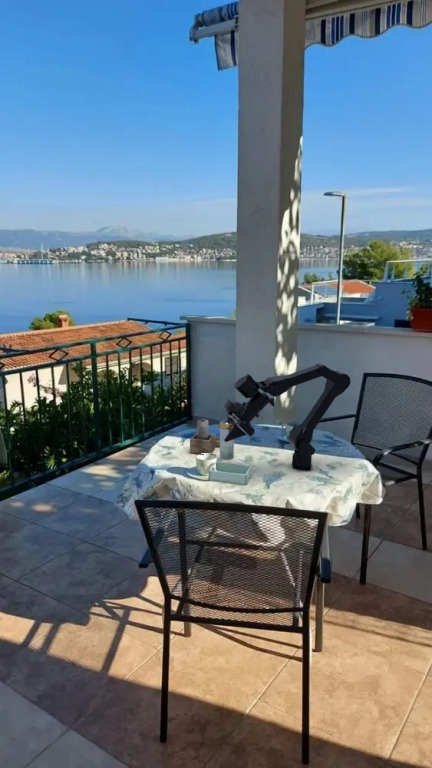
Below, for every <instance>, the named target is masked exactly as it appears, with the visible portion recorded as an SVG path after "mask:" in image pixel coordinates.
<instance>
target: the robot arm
mask: <svg viewBox="0 0 432 768" xmlns="http://www.w3.org/2000/svg"><path fill="white" fill-rule="evenodd" d="M321 377H322V378H324V379H326V380H325V383H324V384H325V385H324V389H323V392H322V393H321V395H320V396H319V398H318V399H317V401H316V402H315V403H314V405H313V407H312V408H311V409H310V411H309V412H308V414H307V416H306V417H305V419H304V420H303V422H301V423H300V424H296V423H294V424H293V426H292V428H291V430H290V431H288V433H289V434H288V442H289V444H290V445H292V447H293V449H294V452H293V453H292V459H291V461H292V462H291V465H292V469H293V470H298V469H305V470H304V471H307V470H312V467H311V466H312V465H313V463H312V462H313V455H315V453H316V449H315V447H314V446H313V445H312V444H311V442H312V441H313V436H314V432H315V429H316V428H317V426H318V424H319V423H320V421H321V420H322V418H323V417H324V416H325V414H326V412H327V411H328V410H329V408H330V407H331V406H332V404H333V402H334V401H335V400H336V398H338V397H339V396H340V395H342V394H343V393H345V391H346V390H347V389H348V388H349V387H350V385H351V383H352V381H351V377H350V376H349V374H347V373H344V372H341V371H340V370H333V369H331V368H329V367H327V366H326V365H324V364H322V363H317V364H315V365H312V366H309V367H307V368H304V369H301V370H298V371H296V372H292V373H290V374H286V375H277V376H269V377H266V378H265V379H264V380H259V381H256V380H255V379H254V378H253V377H252V375H251V374H249V373H247V374H246V375H243V376H242V377H240V378H238V379H237V381H236V382H235V384H234V386H233V387H234V389H236V390H237V391H238V393H240V395H242V397H244V398H245V399H249V400H248V401H246V402H245V401H244V402H242V403H241V402H238V401H237V400H232V399H229V398H228V399H227V400H226V402H225V404H224V408H225V409H226V411H225V412H226V413H227V414H226V417H227V418H226V419H230V420H233V421H234V422H233V428H232V430H231V431H230V432H229V434H228V435H227V436H226V438H225V439H224V441H225V442H228V441H231V440H233V439H234V440H235V439H238V438H241V437H244V436H247V435H248V436H249V437H250V438H252V437H253V436H254V434H255V432H256V431H255V430H256V429H255V428H254V427H253V426H252V424H251V422H252V421H253V420H254V419H255V418H259V417H260V413H261V412H262V411H263V410H264V409H265V407H267V405H268V404H269V405H271V406H272V407H275V398H276V397H279V396H281V395H283V394H285V393H286V392H288V391H289V390H290V389H291V388H292V387H293V388H294V387H295V386H298V385H302V384H304V383H307V382H309V381H313V380H315V379H318V378H321ZM261 391H262V392H261ZM269 395H270V396H271V397H270V396H269Z"/></svg>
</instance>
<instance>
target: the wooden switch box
mask: <svg viewBox="0 0 432 768" xmlns="http://www.w3.org/2000/svg"><path fill="white" fill-rule="evenodd" d="M215 448H218V449H220V436H215Z"/></svg>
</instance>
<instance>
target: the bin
mask: <svg viewBox="0 0 432 768" xmlns="http://www.w3.org/2000/svg"><path fill="white" fill-rule="evenodd" d="M196 421H197V422H196V426H197V427H196V428H197V429H196V430H197V431H196V433H195V434H193V436H191V438H189V454H190V455H198V454H201V453H211V454H213V452H214V451H215V450H216V447H215V437H216V434H211V433H210V434H209V420H208V419H205V418H200V419H198V420H196Z"/></svg>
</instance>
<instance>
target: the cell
mask: <svg viewBox="0 0 432 768" xmlns="http://www.w3.org/2000/svg"><path fill="white" fill-rule="evenodd" d="M233 422H234V421H233V420H230V419H227V418H225V419H221V420H219V437H220V448H219V459H221V460H224V461H229V460H233V459H234V458H235V455H234V454H235V439H233V440H231V441H228V442H225V441H224V439H225V438H226V436H227V435H228V434H229V432H230V431H231V430H232V428H233Z"/></svg>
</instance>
